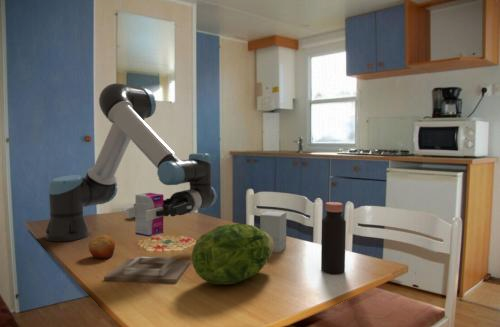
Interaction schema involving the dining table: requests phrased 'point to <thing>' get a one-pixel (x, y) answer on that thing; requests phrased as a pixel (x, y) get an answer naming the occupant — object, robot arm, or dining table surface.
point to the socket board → (149, 270)
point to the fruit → (102, 246)
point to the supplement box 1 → (143, 204)
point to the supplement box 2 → (275, 228)
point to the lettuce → (231, 253)
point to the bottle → (333, 239)
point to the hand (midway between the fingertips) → (137, 214)
